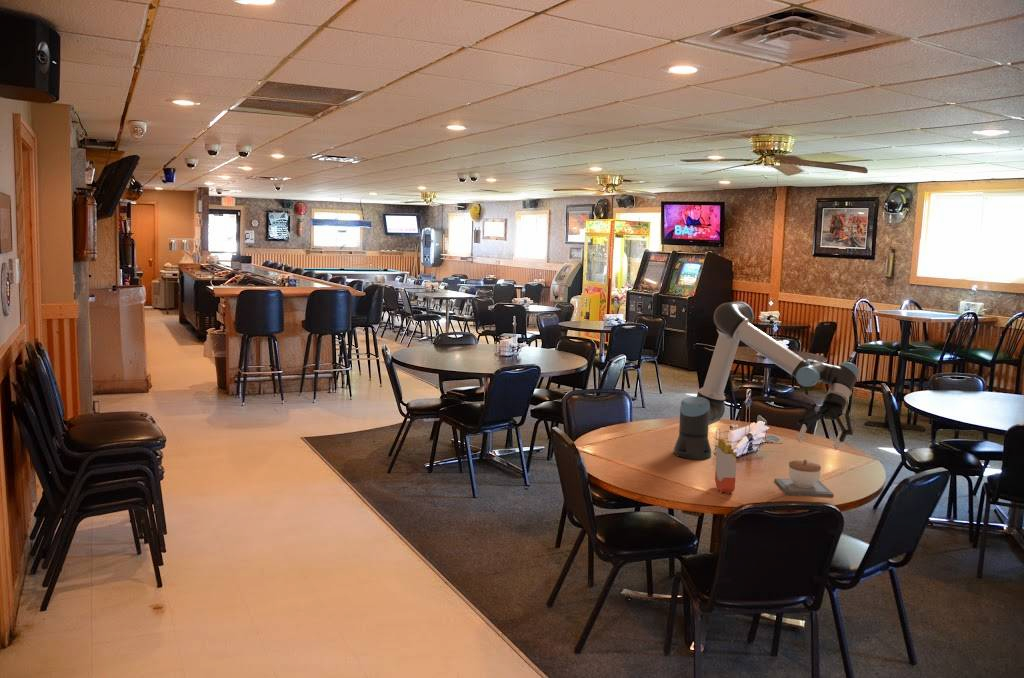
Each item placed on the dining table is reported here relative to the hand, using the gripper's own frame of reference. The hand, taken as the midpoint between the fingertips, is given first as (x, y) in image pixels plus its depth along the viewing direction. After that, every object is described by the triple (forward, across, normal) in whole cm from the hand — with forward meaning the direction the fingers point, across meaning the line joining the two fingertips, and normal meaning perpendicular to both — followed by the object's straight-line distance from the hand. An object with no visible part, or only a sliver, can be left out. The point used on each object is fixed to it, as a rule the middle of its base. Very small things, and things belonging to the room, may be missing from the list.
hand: (816, 444), depth 283 cm
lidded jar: (+16, 0, -4) cm, 16 cm away
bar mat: (+17, 0, -4) cm, 17 cm away
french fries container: (+34, +18, +12) cm, 40 cm away
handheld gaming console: (-24, +42, -46) cm, 67 cm away
